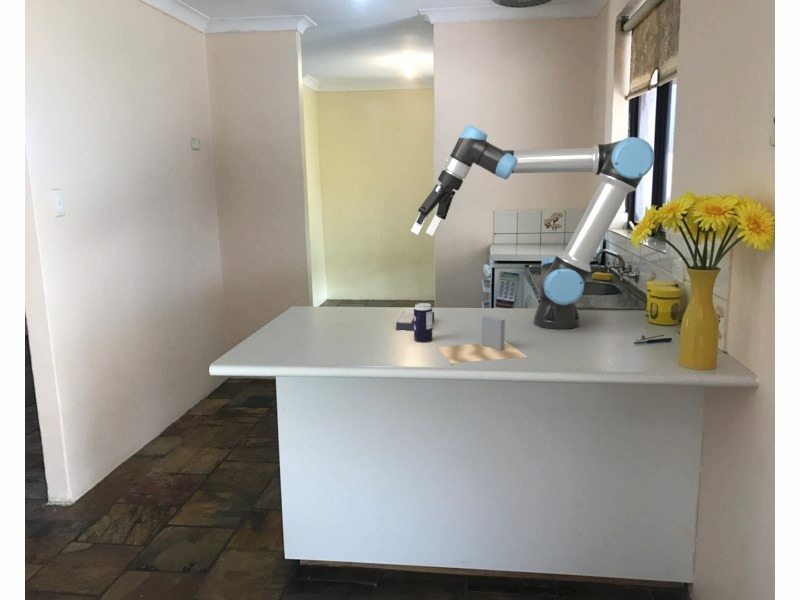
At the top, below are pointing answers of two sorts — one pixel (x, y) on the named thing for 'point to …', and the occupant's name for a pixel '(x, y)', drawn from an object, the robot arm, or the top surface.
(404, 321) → the calculator
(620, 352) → the top surface
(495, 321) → the slate tile
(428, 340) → the beverage can
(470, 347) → the cork mat
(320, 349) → the top surface
